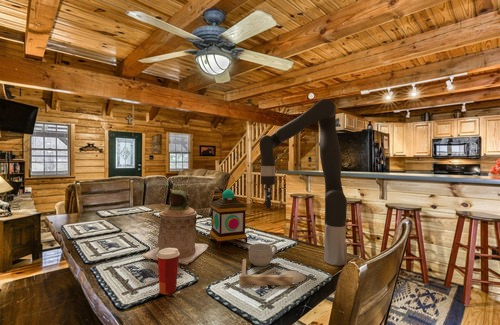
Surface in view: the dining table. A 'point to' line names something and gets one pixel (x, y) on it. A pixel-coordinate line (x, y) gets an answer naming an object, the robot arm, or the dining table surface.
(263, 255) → the teacup
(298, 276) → the felt coaster
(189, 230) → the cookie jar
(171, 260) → the paper cup
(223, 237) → the decorative lantern
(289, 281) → the cup rest
